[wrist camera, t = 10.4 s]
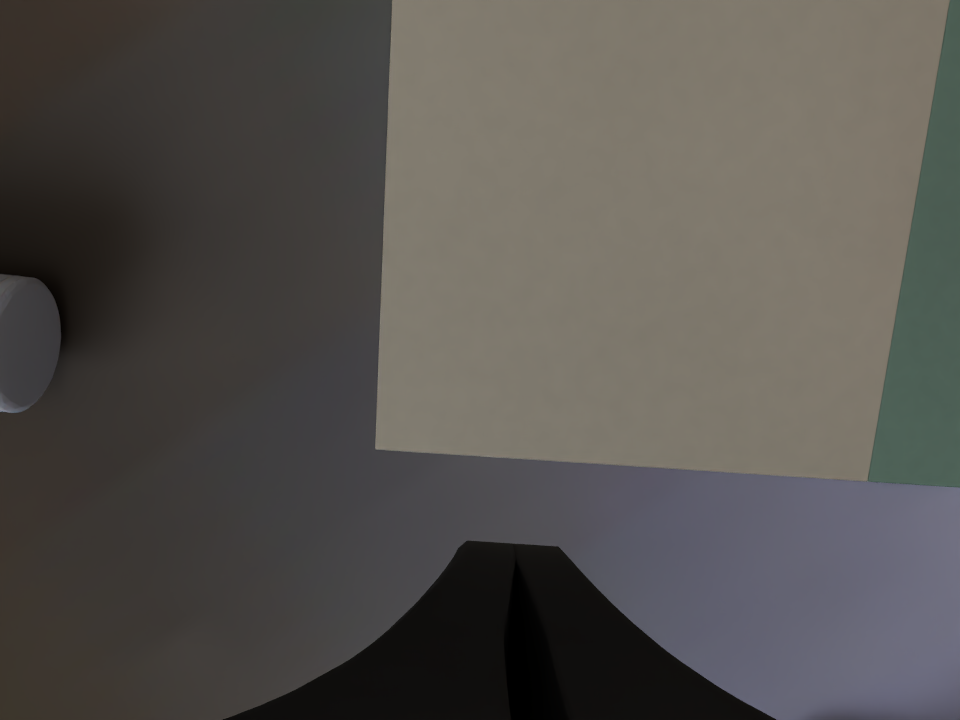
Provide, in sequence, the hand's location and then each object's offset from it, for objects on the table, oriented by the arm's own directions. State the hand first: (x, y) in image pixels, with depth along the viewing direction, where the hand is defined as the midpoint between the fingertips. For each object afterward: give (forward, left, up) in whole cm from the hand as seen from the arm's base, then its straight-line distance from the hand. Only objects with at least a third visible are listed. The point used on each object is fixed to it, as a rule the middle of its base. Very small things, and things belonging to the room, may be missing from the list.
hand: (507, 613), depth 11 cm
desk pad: (+6, -9, -9) cm, 14 cm away
